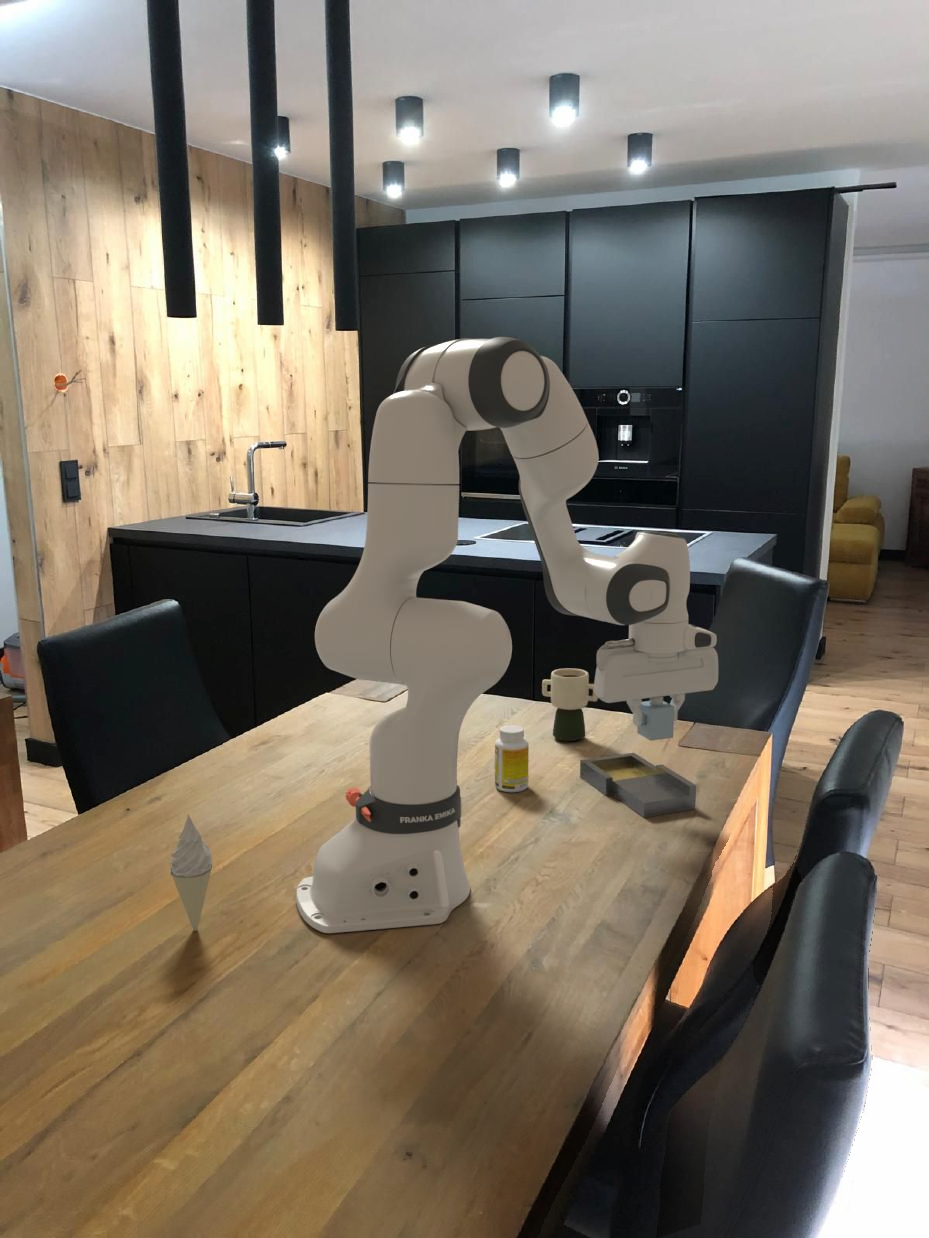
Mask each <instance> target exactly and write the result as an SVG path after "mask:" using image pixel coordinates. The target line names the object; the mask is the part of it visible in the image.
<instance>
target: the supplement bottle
mask: <svg viewBox="0 0 929 1238" xmlns="http://www.w3.org/2000/svg"><path fill="white" fill-rule="evenodd" d="M529 752H530V751H529V741H528V740H527V738H525V730H524V727H522V726H520V725H515V724H511V725H509V724H508V725H504V726H501V727H500V728H499V737H498V738H497V739H496V740H495V742H494V785H495V788H496V789H498V790H499V791H501V792H505V793H519V792H523V791H525V790H526V789H527V788H528V787H529V761H530V760H529Z"/></svg>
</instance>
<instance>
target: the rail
mask: <svg viewBox="0 0 929 1238" xmlns="http://www.w3.org/2000/svg"><path fill="white" fill-rule="evenodd" d="M579 761H580V762H579V765H580V766H579V777H580V778H581V779H583V780H584V782H586V783H587V784H589V785H590V786H592V787H593V788H594V789H596V790H597V791H599V793H601V794H603V795H604V796H613V797H615V798H616V799H617V800H619V801H620V802H622V804H624V805H626V807H628V808H630V809H631V810H632V811H633V812H635V813H636V814H637V815H639V814H640V815H639V816H640V817H642V818H644V819H647V818H651V817H657V815H658V816H663V815H662V814H664V815H669V814H668V813H670V814H674V812H676V813H680V812H679V811H682V812H688V811H693V810H692V809H694V810H696V801H697V800H696V799H697V797H696V796H697V784H696V783H693V782H692V781H690V780H689V779H687V778H685V777H684V776H682V775H680V774H679V773H677V772H676V771H674V770H672V769H671V768H669V767H667V766H666V765H664V764H655V765H654V764H653V763H651V762H649V761H648V760H646V759H645V758H644V757H642V756H640V755H639V754H637V753H636V752H630V753H621V754H614V755H608V756H600V757H593V758H586V759H580V760H579Z"/></svg>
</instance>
